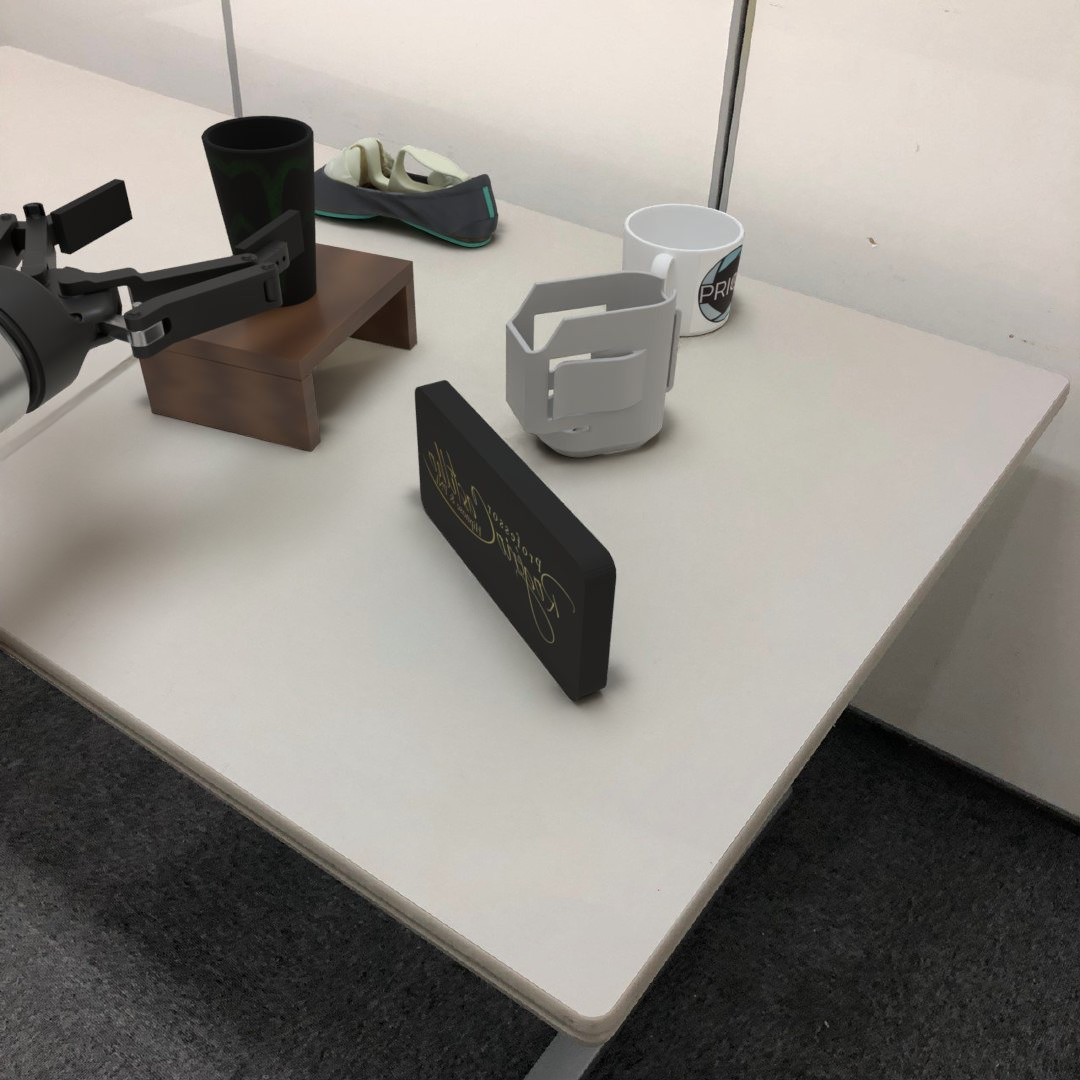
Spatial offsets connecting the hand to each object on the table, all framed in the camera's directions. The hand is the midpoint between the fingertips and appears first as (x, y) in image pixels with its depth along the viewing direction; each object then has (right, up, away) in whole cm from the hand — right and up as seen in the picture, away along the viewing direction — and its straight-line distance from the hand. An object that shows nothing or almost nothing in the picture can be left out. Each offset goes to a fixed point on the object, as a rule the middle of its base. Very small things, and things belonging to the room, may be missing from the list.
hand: (208, 213), depth 71 cm
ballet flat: (+7, +11, +40) cm, 43 cm away
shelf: (+2, -9, +15) cm, 17 cm away
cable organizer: (+25, -15, +9) cm, 31 cm away
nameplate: (+20, -25, -5) cm, 33 cm away
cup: (+2, -3, +10) cm, 11 cm away
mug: (+34, -2, +24) cm, 42 cm away
